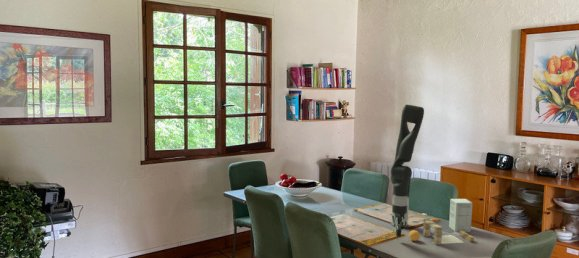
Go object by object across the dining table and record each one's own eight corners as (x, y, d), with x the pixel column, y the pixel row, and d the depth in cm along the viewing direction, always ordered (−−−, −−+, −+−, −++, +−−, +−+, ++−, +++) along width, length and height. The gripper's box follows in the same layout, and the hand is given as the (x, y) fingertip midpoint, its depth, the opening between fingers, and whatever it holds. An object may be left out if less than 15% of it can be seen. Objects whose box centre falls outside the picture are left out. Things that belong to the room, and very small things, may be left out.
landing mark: (431, 236, 247) (431, 235, 247) (452, 235, 249) (452, 234, 249) (442, 243, 235) (442, 243, 235) (463, 242, 237) (464, 242, 237)
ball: (406, 239, 241) (407, 229, 240) (416, 238, 242) (417, 228, 241) (411, 242, 236) (411, 232, 235) (421, 242, 236) (421, 232, 236)
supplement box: (464, 226, 265) (466, 198, 263) (471, 232, 255) (473, 202, 254) (448, 226, 264) (450, 198, 262) (454, 231, 255) (456, 202, 253)
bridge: (422, 235, 247) (423, 219, 246) (428, 235, 248) (428, 218, 247) (435, 244, 233) (436, 227, 232) (441, 244, 234) (442, 227, 233)
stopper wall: (459, 235, 249) (459, 230, 249) (462, 235, 249) (462, 230, 249) (470, 242, 238) (470, 237, 238) (473, 242, 238) (474, 237, 238)
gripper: (412, 206, 229) (410, 240, 230) (401, 200, 242) (399, 232, 243) (398, 207, 228) (397, 240, 229) (388, 200, 241) (386, 232, 242)
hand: (398, 236), depth 236 cm, fingers closed
